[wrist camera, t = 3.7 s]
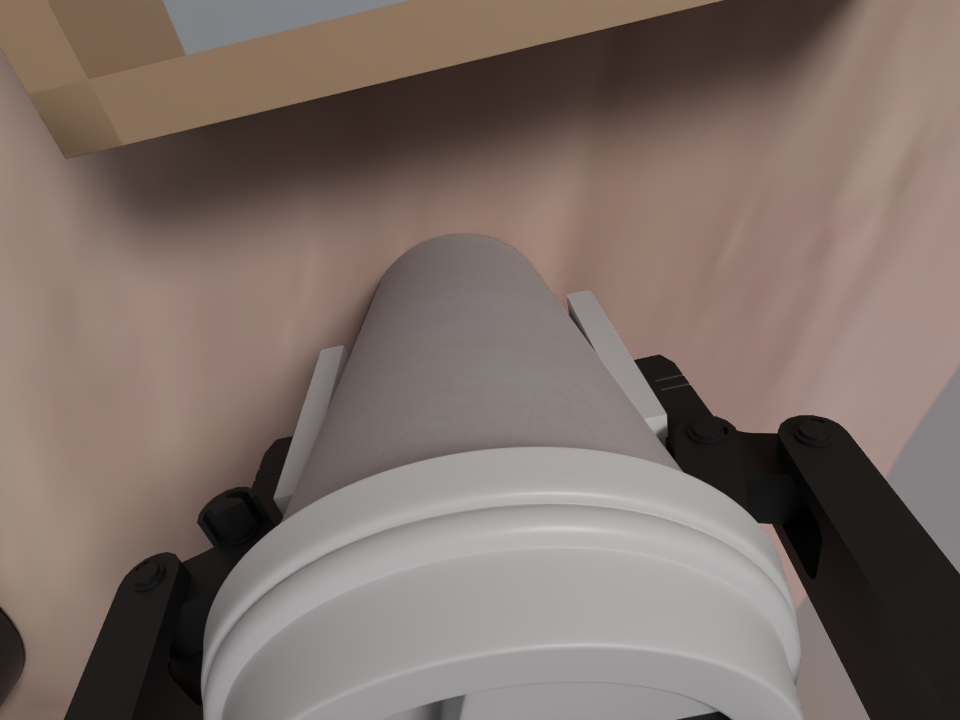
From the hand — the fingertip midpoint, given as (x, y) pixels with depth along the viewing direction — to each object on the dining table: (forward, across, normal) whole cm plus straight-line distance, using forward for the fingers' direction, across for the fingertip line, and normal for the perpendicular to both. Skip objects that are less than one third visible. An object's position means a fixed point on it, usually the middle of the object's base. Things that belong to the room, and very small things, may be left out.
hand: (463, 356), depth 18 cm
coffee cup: (+3, 0, 0) cm, 3 cm away
